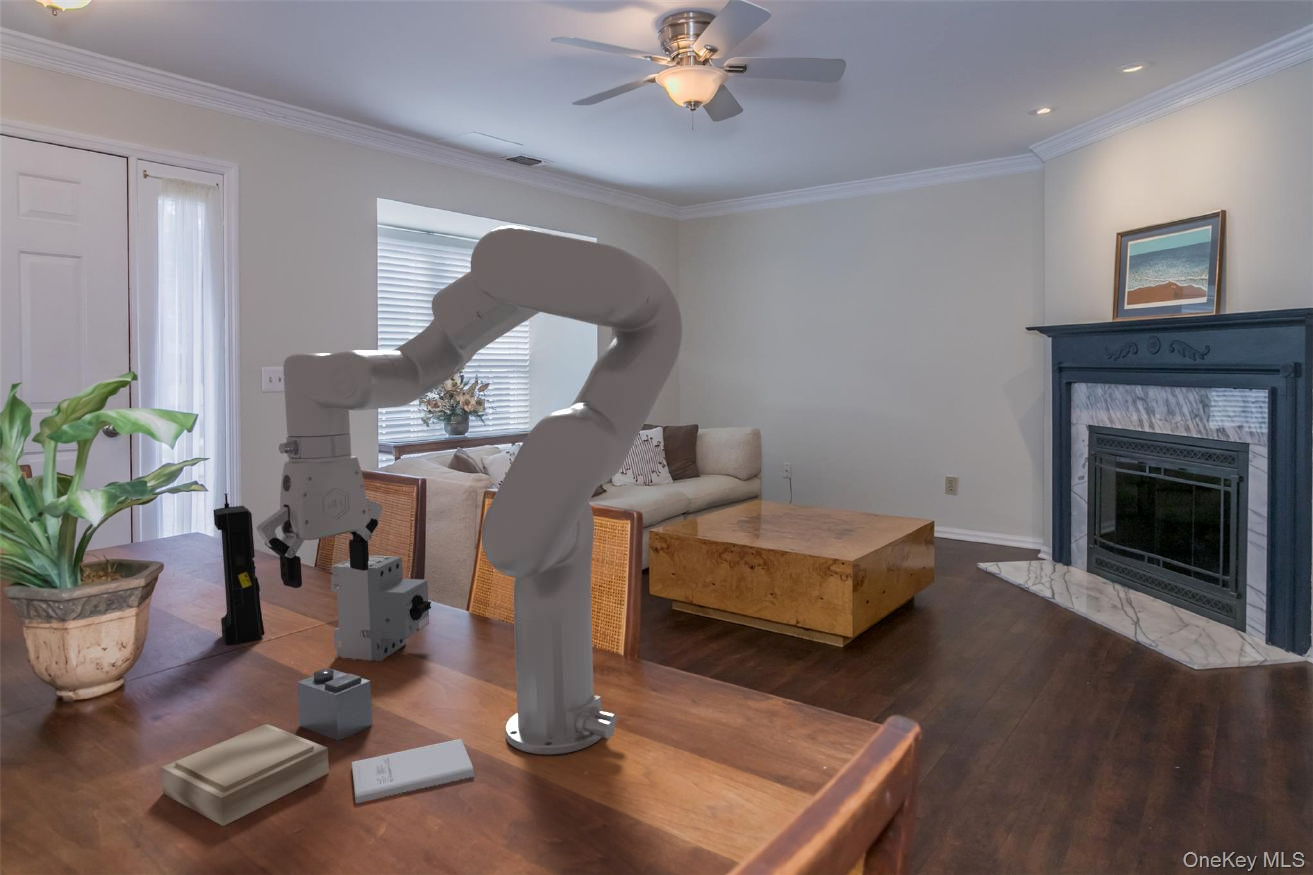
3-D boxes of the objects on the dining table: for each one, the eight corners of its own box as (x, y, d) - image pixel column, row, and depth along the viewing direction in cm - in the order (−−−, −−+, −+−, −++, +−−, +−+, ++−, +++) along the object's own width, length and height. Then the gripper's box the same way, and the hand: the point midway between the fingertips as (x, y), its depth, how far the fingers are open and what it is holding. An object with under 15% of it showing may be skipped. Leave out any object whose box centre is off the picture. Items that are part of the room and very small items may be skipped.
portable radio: (266, 640, 133) (257, 496, 131) (226, 648, 130) (216, 500, 128) (260, 628, 140) (251, 490, 138) (221, 635, 136) (212, 494, 134)
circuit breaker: (416, 663, 122) (412, 569, 120) (335, 658, 124) (330, 566, 123) (439, 646, 129) (435, 557, 128) (361, 641, 132) (357, 555, 130)
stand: (328, 772, 88) (327, 744, 88) (223, 826, 78) (220, 793, 78) (268, 747, 95) (266, 720, 94) (163, 793, 85) (160, 763, 84)
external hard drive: (474, 781, 87) (355, 808, 82) (461, 749, 95) (352, 772, 90) (473, 768, 87) (355, 794, 82) (460, 736, 94) (351, 759, 89)
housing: (372, 725, 100) (369, 674, 100) (338, 741, 96) (335, 688, 96) (333, 712, 105) (331, 663, 104) (299, 726, 100) (296, 675, 100)
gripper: (271, 456, 92) (280, 598, 93) (394, 443, 106) (400, 566, 108) (238, 453, 96) (247, 589, 97) (360, 441, 110) (366, 560, 112)
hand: (327, 577), depth 103 cm, fingers open, 9 cm apart
